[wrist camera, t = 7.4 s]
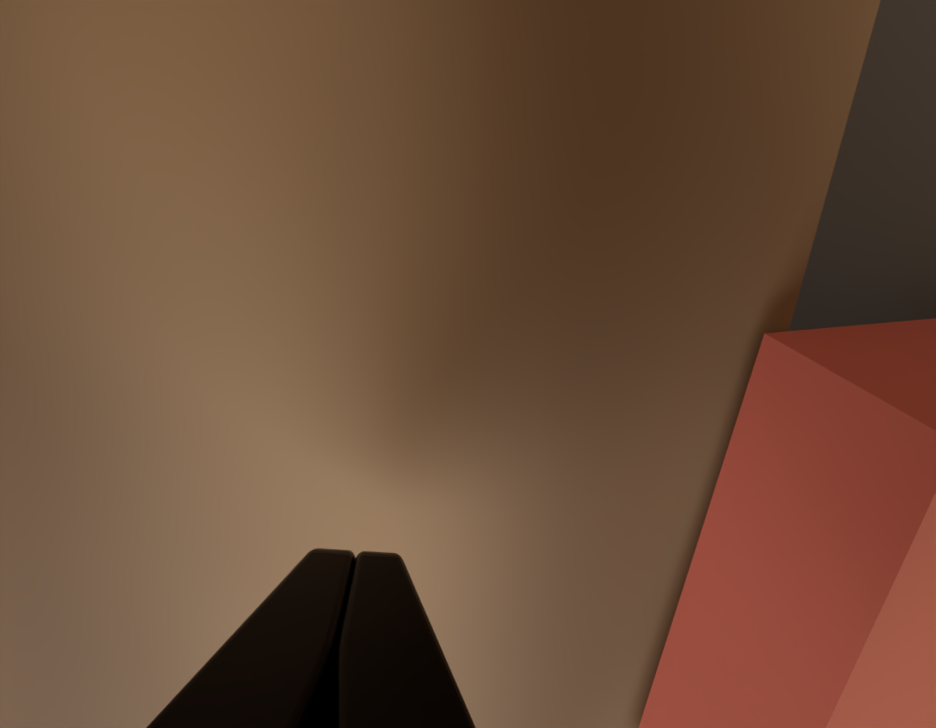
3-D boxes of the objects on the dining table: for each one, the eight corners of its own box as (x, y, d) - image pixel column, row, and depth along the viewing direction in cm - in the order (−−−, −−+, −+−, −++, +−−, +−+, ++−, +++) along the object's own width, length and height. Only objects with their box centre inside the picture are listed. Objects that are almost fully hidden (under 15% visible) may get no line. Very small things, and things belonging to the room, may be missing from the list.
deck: (757, -150, 9) (942, -222, 6) (590, 688, 16) (628, 905, 12) (-677, -270, 9) (-1477, -435, 5) (-244, 651, 15) (-464, 867, 11)
